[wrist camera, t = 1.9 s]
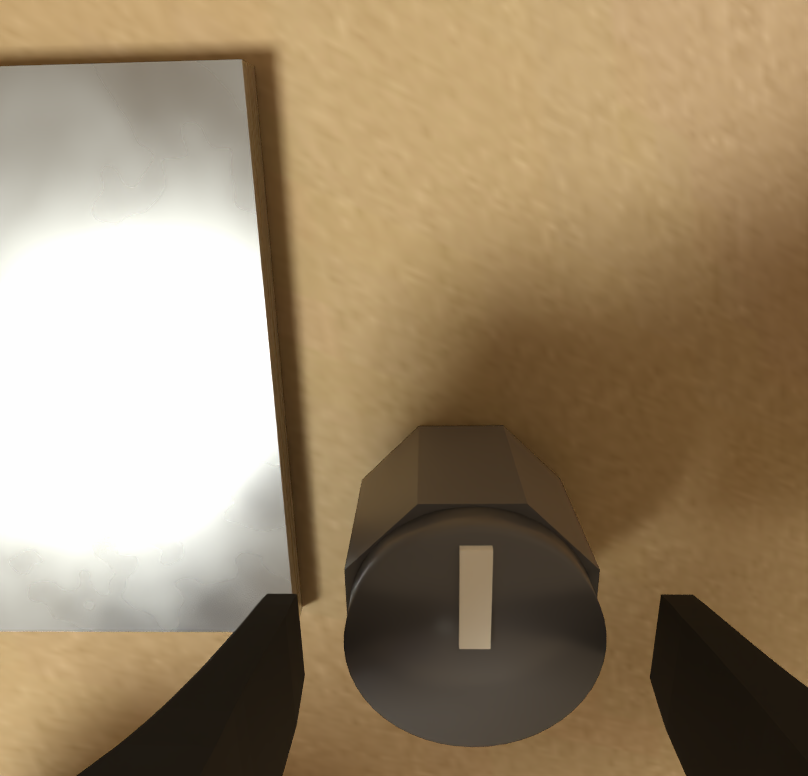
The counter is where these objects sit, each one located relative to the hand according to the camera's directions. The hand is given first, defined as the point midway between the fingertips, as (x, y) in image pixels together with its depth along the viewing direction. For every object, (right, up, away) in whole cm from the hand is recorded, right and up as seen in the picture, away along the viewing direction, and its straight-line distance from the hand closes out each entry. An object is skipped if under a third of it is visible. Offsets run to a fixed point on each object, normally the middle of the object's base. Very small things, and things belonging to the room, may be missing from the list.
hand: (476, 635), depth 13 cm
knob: (0, +1, +4) cm, 5 cm away
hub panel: (-13, +5, +4) cm, 15 cm away
